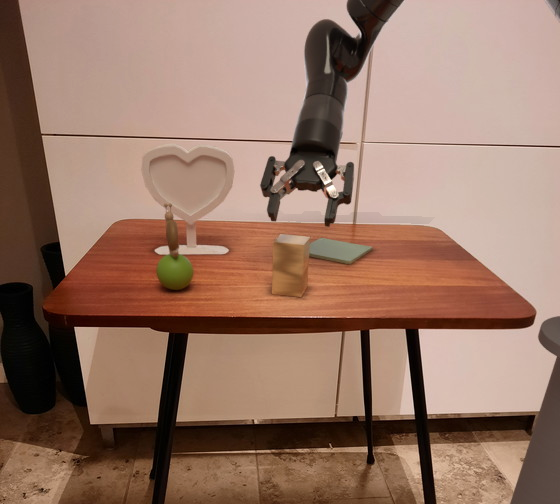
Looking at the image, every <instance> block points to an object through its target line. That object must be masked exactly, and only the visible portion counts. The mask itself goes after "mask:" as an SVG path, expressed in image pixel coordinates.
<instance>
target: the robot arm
mask: <svg viewBox="0 0 560 504" xmlns="http://www.w3.org/2000/svg"><path fill="white" fill-rule="evenodd" d="M404 2H406V0H347V1H346V5H345V7H346V12H347V14H348V16H349V18H350V19H351V20H352V22H353V23H354V24H355V26H356V27H357V29H358V33H357V34H356V36H354V35H353V34H352V33H350V32H349V31H348V30H346V29H345V28H343V27H342V26H341V25H340V24H338V23H337V22H336V21H335V20H332V19H329V18H323V19H320V20H318V21H317V22H316V23H315V24H313V25H312V27H311V28H310V30H309V31H308V33H307V35H306V38H305V42H304V46H303V66H304V77H305V86H306V87H305V92H304V96H303V100H302V104H301V108H300V110H299V112H298V115H297V120H296V123H295V128H294V133H293V138H292V141H291V146H290V151H289V156H288V157H287V159H286V160H284V161H283V160H276V159H277V158H276V157H275V156H273V155H271V156H269V157H268V158H267V162H266V165H265V168H264V171H263V175H262V177H261V181H260V184H259V186H260V190H261V194H262V197H263V198H268V202H267V207H266V212H267V215H268V218H270V221H271V222H277V220H278V215H279V211H280V206H281V200H282V199H283V198H285V196H287V195H290V194H291V193H293V191H295V190H296V189H297V191H300V192H301V191H302V192H304V191H309V192H313V193H316V192H317V193H318V191H320V190H321V192H322V194H323V195H324V197H325V198H326V199H327V203H326V209H325V214H324V218H323V219H324V220H323V221H324V227H327V228H330V227H331V224H334V223H335V222H336V218H337V214H338V209H339V206H340V205H343V204H344V205H346V206H347V205H350V204H351V203H352V200H353V199H352V198H353V191H354V190H353V189H354V180H355V164H354V162H352V161H348V162H347V163H346V164H345V165H339V164H337V160H338V155H339V150H340V146H341V140H342V137H343V135H344V134H343V131H344V130H343V129H344V122H345V112H346V108H347V107H346V106H347V101H348V97H349V85H348V84H349V83H351V82H353V81H354V80H355V79H357V77H358V76H359V75H360V74H361V72H362V70H363V68H365V67H364V66H365V65H366V62H367V61H368V57H369V56H370V53H371V51H372V49H373V48H374V45H375V43H376V42H377V39H378V37H379V36H380V34H381V32H382V30H383V29H384V27H385V26H386V25H387V24H388V22H389V21H390V20H391V19H392V17H394V15H395V14H396V12H397V11H398V10H399V8H401V7H402V6H403V4H404ZM543 2H545V4H546V6H547V7H548V8H549V10H550V11H551V14H553V15H554V17H555V19H556V20H557V21H558V23H560V0H543ZM282 171H284V172H285V173H284V174H282V175H281V176H280V178H279V180H278V181H277V182H276V183H275V179H276V177H278V176H279V175H280V174H281V172H282ZM337 175H339V176H340V179H341V181H343V187H342V191H338V190H337V189H336V187H335V186H334V184H333V180H334V178H336V177H337ZM274 183H275V184H274Z"/></svg>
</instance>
